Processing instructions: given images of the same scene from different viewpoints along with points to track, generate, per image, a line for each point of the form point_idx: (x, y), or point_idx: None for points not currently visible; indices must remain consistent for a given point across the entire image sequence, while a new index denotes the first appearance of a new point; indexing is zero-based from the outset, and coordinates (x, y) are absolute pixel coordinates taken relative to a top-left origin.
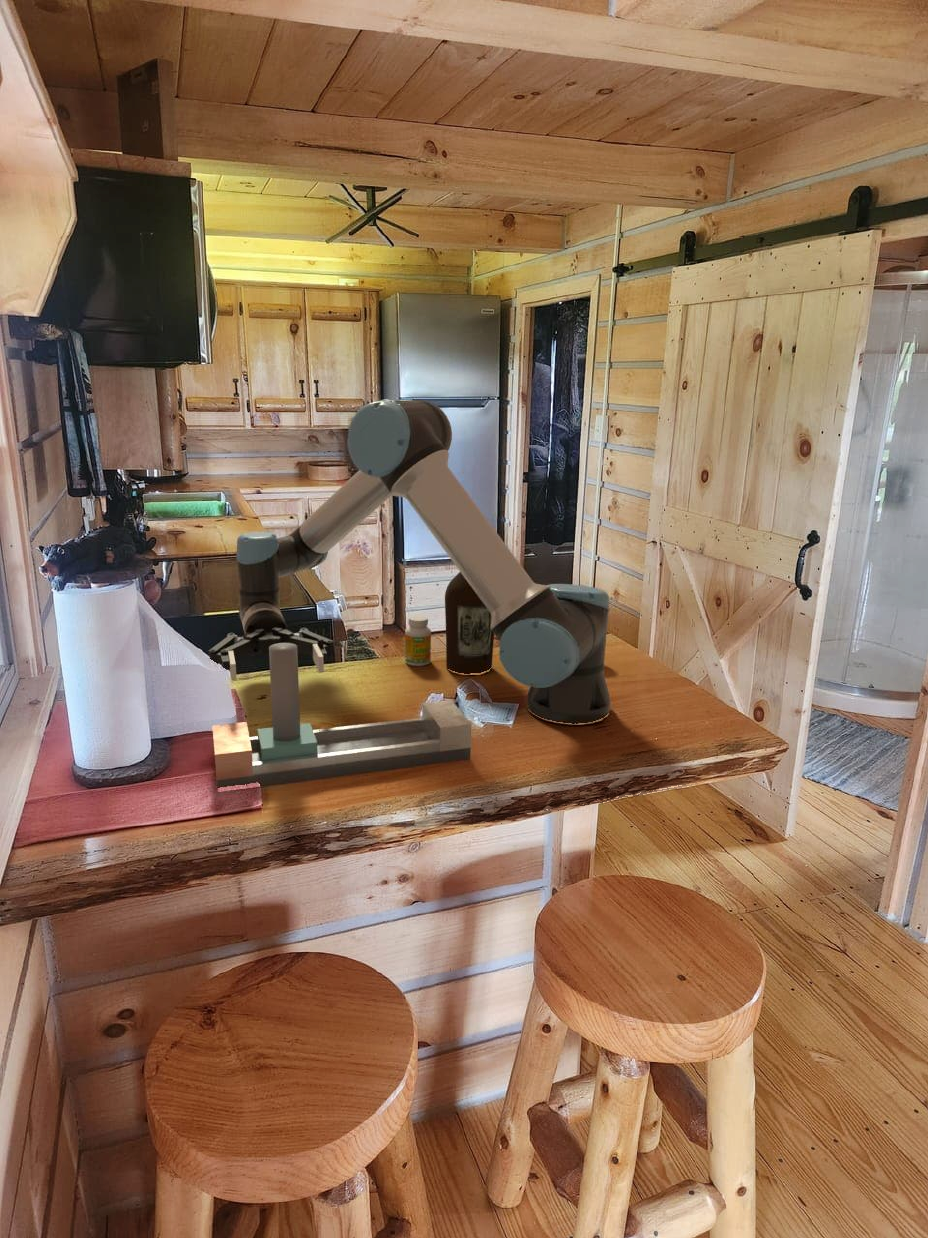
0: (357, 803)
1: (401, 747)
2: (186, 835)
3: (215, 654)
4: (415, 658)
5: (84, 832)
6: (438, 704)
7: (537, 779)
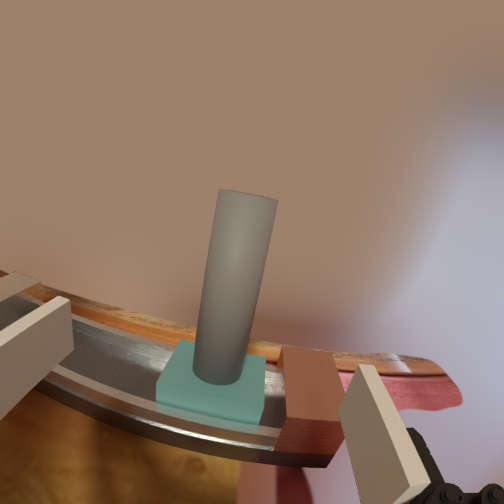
0: (168, 330)
1: (78, 316)
2: (333, 355)
3: (471, 495)
4: None
5: (417, 378)
6: None
7: None
